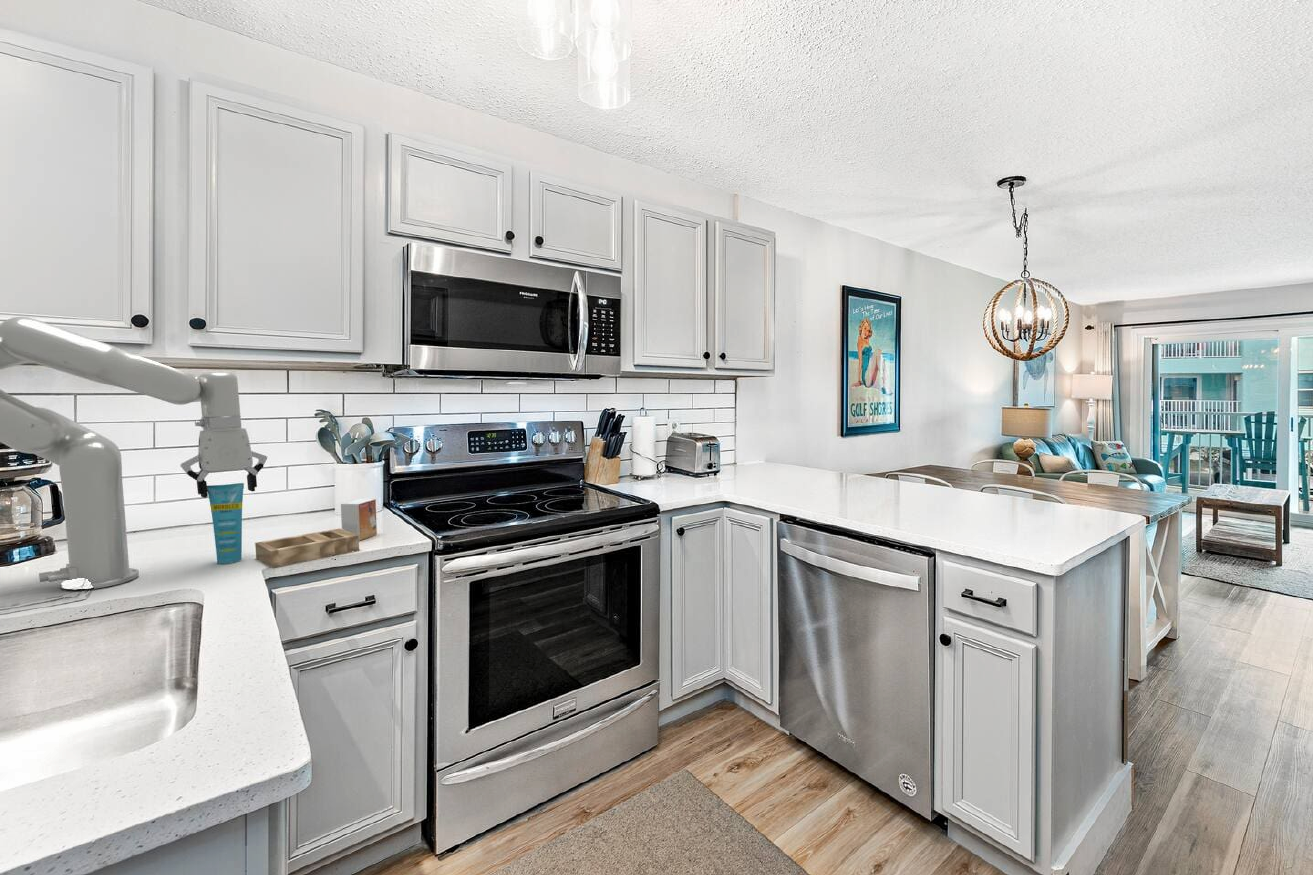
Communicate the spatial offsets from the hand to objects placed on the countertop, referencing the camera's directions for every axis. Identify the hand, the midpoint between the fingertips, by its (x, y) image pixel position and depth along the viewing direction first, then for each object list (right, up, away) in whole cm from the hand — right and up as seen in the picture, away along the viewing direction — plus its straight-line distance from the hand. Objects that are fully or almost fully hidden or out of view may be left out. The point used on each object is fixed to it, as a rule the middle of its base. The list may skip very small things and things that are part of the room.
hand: (228, 493), depth 145 cm
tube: (0, -17, +1) cm, 17 cm away
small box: (+20, -15, +24) cm, 35 cm away
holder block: (+15, -16, +7) cm, 23 cm away
